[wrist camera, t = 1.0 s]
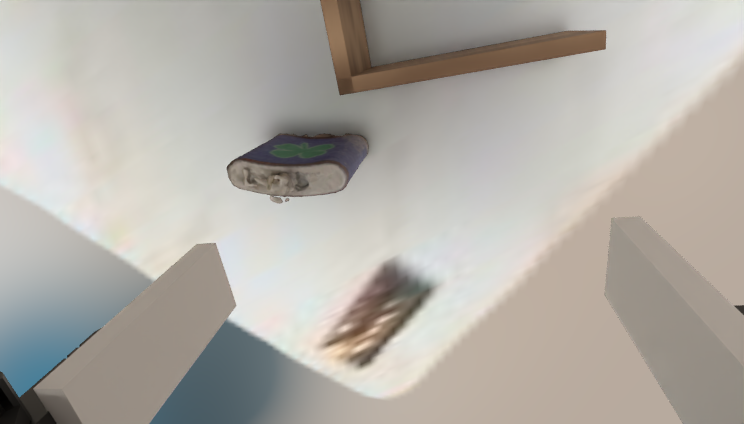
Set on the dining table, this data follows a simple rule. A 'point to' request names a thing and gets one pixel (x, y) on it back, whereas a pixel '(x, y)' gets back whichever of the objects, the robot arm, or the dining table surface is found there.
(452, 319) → the dining table surface
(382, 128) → the dining table surface
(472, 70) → the wooden u-shaped frame
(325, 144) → the flask
